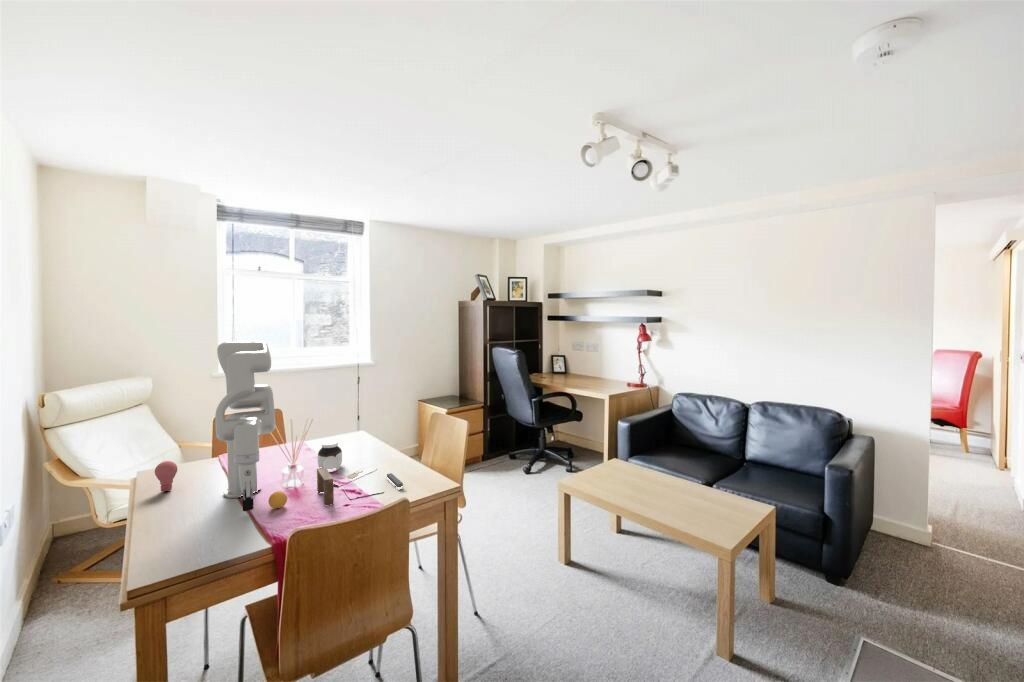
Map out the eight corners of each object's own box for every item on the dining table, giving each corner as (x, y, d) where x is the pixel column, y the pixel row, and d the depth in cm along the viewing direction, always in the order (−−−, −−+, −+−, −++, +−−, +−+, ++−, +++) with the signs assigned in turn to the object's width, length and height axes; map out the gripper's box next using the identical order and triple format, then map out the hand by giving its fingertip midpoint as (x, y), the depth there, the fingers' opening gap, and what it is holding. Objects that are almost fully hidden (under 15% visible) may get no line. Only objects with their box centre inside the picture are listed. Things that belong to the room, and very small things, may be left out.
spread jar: (333, 463, 212) (332, 439, 211) (350, 467, 207) (350, 442, 206) (311, 471, 201) (311, 445, 201) (329, 475, 196) (328, 449, 196)
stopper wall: (387, 479, 191) (386, 474, 191) (391, 478, 192) (391, 473, 192) (398, 490, 179) (398, 484, 179) (402, 489, 180) (402, 483, 180)
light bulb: (173, 486, 182) (172, 457, 181) (181, 490, 178) (180, 460, 178) (152, 492, 176) (151, 462, 175) (160, 496, 172) (159, 465, 172)
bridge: (325, 506, 164) (324, 480, 163) (317, 492, 176) (317, 468, 176) (333, 504, 165) (333, 478, 165) (325, 491, 178) (325, 467, 177)
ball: (267, 506, 163) (267, 490, 163) (286, 503, 166) (286, 487, 166) (269, 512, 158) (269, 496, 158) (288, 509, 161) (288, 492, 161)
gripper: (260, 461, 152) (262, 514, 152) (257, 450, 164) (258, 500, 165) (234, 465, 148) (236, 520, 148) (233, 454, 160) (234, 504, 161)
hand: (248, 509), depth 157 cm, fingers closed
